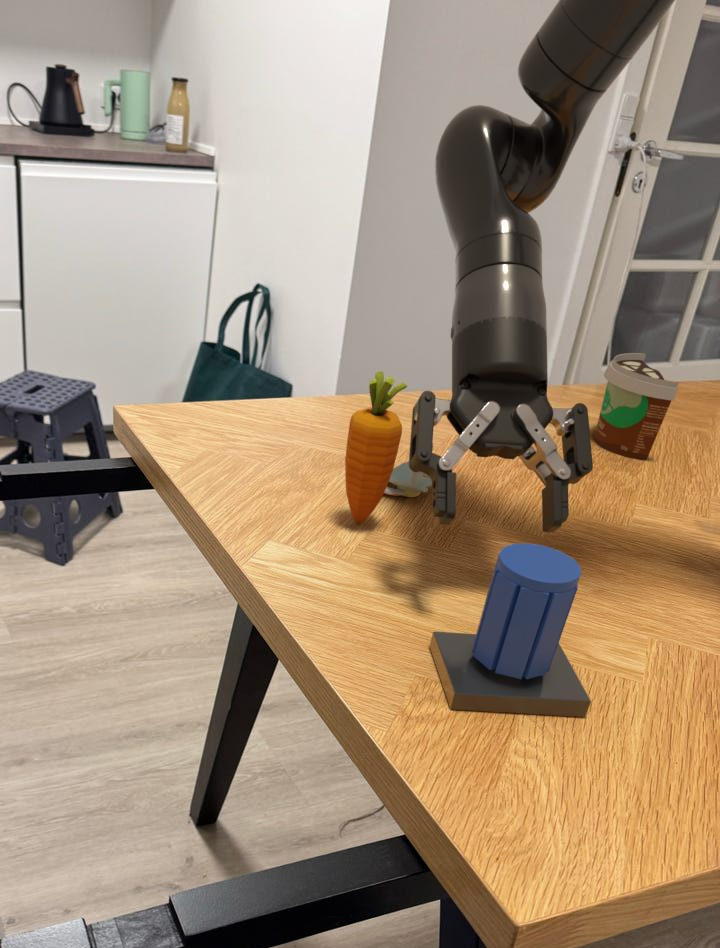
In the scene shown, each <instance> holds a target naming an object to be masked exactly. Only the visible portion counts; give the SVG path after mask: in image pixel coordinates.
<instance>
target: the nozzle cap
mask: <svg viewBox="0 0 720 948" xmlns="http://www.w3.org/2000/svg"><path fill="white" fill-rule="evenodd" d="M494 565H495V566H494V569H493V573H492V576H491V579H490V583H489V586H488V590H487V594H486V596H485V600H484V604H483V608H482V610H481V611H482V612H481V615H480V619H479V621H478V626H477V628H476V633H475V634H476V636H475V639H474V644H473V649H472V653H474V657H475V658H476V659H477V660H478V661H480V662H481V663H482V664H483V665H484V666H485V667H487V668H488V669H489V670H493V669H495V673H497V674H502V675H506V676H510V677H514V678H518V679H522V676H523V677H524V678H526V679H530V678H534V677H537V676H541V675H545V674H546V673H547V672H549V669H550V666H551V663H552V661H553V658H554V655H555V652H556V649H557V646H558V643H559V644H560V641H561V638H562V634H563V632H564V629H565V626H566V623H567V620H568V617H569V615H570V611H571V608H572V606H573V603H574V600H575V597H576V594H577V591H578V589H579V582H580V579H581V575H582V568H581V566H580V564H579V563H578V562H577V561H576V560H575V559H574V558H573V557H571V555H569V554H566V553H565V552H562V551H560V550H559V549H555V548H552V547H549V546H547V545H542V544H536V543H527V542H526V543H525V542H519V543H512V544H508V545H506V546H504V547H502V549H500V551H499V553H498V557H497V559H496V562H495V564H494Z"/></svg>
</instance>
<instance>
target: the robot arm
mask: <svg viewBox="0 0 720 948" xmlns="http://www.w3.org/2000/svg"><path fill="white" fill-rule="evenodd" d="M675 2H676V0H558V1H557V3H556V4H555V6H554V7H553V8H552V11H551V12H550V13H549V14H548V16H547V18H546V19H545V21H544V22H542V23H543V24H541V26H540V28H539V29H538V31H537V32H536V33H535V35H534V36H533V38H532V39H531V41H530V42H529V44H528V45H527V47H526V49H525V50H524V52H523V54H522V56H521V57H520V60H519V63H518V66H517V78H518V82H519V84H520V86H521V88H522V90H523V91H524V93H525V94H526V95H527V96H528V98H529V99H530V100H531V101H532V102H533V103H534V104H535V105H536V106H537V107H538V108H540V110H539V112H538V115H537V116H536V118H535V119H534V120H533V122H532V123H528V122H526V121H524V120H521V119H519V118H517V117H515V116H512V115H510V114H508V113H505V112H503V111H502V110H499V109H497V108H494V107H492V106H488V105H483V104H476V105H471V106H468V107H466V108H463V109H462V110H460V111H459V112H457V114H456V115H454V117H452V118H451V119H450V121H449V122H448V124H447V125H446V127H444V130H443V131H442V133H441V135H440V139H439V142H438V145H437V149H436V152H435V160H434V178H435V187H436V191H437V195H438V199H439V203H440V205H441V206H440V207H441V210H442V213H443V216H444V220H445V223H446V226H447V230H448V234H449V237H450V239H451V242H452V245H453V248H454V253H455V254H454V255H455V258H454V259H455V260H454V261H455V262H454V270H455V271H454V301H453V306H452V308H453V309H452V315H451V327H450V339H451V398H450V399H444V398H438V397H436V395H435V393H434V392H433V391H431V390H425V391H423V392H422V393H421V394H420V396H419V398H418V399H417V400H416V402H415V404H414V406H413V408H412V415H411V427H410V441H409V452H408V453H409V454H408V461H409V468H410V469H411V470H412V471H413V472H419V471H420V472H423V473H425V474H427V477H428V478H429V477H430V478H431V480H432V486H431V512H432V514H433V517H434V518H438V524H439V525H444V526H449V525H451V523H452V522H453V521H455V519H456V514H457V473H456V472H453V468H454V467H455V466H456V465H457V464H458V462H459V461H460V460H461V459H462V457H464V455H465V454H466V453H467V451H471V452H472V453H474V454H475V455H476V458H490V457H498V458H501V459H504V460H515V459H516V458H517V457H518V458H519V459H520V460H521V462H522V463H523V464H524V466H525V467H526V468H527V469H528V470H530V471H533V472H534V473H535V475H536V476H537V477H538V479H539V480H540V481H541V483H542V484H543V485H544V488H542V489H541V519H542V520H541V522H542V531H543V533H552V534H553V533H554V532H556V531H557V530H559V529H560V528H561V527H562V525H563V524H564V523H565V522H566V521H567V520H568V518H569V515H570V511H569V485H570V484H571V485H576V484H578V483H579V482H580V481H581V479H583V478H584V477H585V476H587V475H589V474H590V473H591V472H592V471H593V468H594V464H593V453H592V442H591V431H590V420H589V411H588V407H587V406H586V404H584V403H581V402H578V403H575V404H574V405H573V406H572V407H570V408H566V407H565V408H564V407H558V408H557V407H553V406H552V404H551V403H550V401H549V398H548V382H549V381H548V376H549V375H548V373H549V372H548V335H547V334H548V333H547V330H548V329H547V328H548V327H547V303H546V297H545V292H544V285H543V245H542V242H543V241H542V233H541V229H540V227H539V224H538V222H537V221H536V219H535V218H534V217H533V216H532V215H531V214H530V213H532V212H533V211H535V210H536V209H537V208H538V207H540V206H541V205H542V204H543V203H544V202H545V201H546V200H547V199H548V198H549V197H550V195H551V194H552V192H553V191H554V190H555V188H556V186H557V185H558V183H559V180H560V179H561V176H562V174H563V172H564V170H565V167H566V165H567V164H568V161H569V158H570V156H571V155H572V152H573V151H574V148H575V146H576V144H577V142H578V140H579V138H580V136H581V134H582V132H583V131H584V129H585V126H586V125H587V122H588V120H589V118H590V116H591V114H592V113H593V111H594V108H595V107H596V105H597V104H598V103H599V100H601V98H602V97H603V95H604V94H605V93H606V92H607V90H608V89H609V88H610V87H611V86H612V85H613V83H614V82H615V80H616V79H617V78H618V76H620V74H621V73H622V72H623V71H624V70H625V68H626V67H627V65H628V64H629V63H630V62H631V60H632V59H633V58H634V56H635V55H636V54H637V53H638V51H639V50H640V49H641V48H642V46H643V45H644V44H645V42H646V41H647V40H648V38H649V37H650V35H651V34H652V33H653V32H654V30H655V29H656V28H657V26H658V25H659V23H660V22H661V21H662V20H663V18H664V17H665V15H666V14H667V12H669V10H670V8H671V7H672V5H673V4H674V3H675ZM443 416H445V417H446V419H447V421H448V422H449V424H450V425H451V426H452V428H453V429H454V430H455V432H456V433H457V434H458V436H457V437H456V439H455V441H453V443H451V445H450V446H449V447H448V448H447V450H446V451H445V452H444V453H443V455H442V456H441V455H439V454H437V453H435V452H433V451H432V442H434V441H433V439H434V427H436V426H437V425H438V424H439V422H440V421H441V419H442V417H443ZM549 424H550V425H552V426H553V427H554V429H555V434H556V436H557V437H561V447H562V456H561V455H560V454H559V452H558V446H557V445H558V444H556V441H554V439H553V438H552V437H551V435H550V434H549V433H548V431H547V430H546V428H548V426H549ZM533 445H534V446H533ZM534 447H535V448H536V450H535V448H534ZM562 457H563V458H562Z"/></svg>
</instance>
